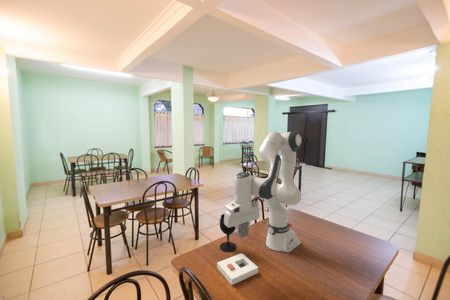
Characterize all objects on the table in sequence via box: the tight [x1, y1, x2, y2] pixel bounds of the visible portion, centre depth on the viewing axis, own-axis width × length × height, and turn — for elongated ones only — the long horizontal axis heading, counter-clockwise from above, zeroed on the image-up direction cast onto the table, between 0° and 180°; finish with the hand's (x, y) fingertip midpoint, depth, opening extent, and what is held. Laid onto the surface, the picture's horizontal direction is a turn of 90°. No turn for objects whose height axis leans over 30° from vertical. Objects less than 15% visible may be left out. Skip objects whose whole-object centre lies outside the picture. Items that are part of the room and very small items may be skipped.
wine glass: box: [219, 213, 237, 253], centre depth 127 cm, size 10×10×20 cm
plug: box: [236, 222, 249, 238], centre depth 106 cm, size 4×4×7 cm
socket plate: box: [216, 252, 259, 286], centre depth 107 cm, size 16×14×4 cm
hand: (242, 230), depth 106 cm, fingers closed on plug, 4 cm apart
